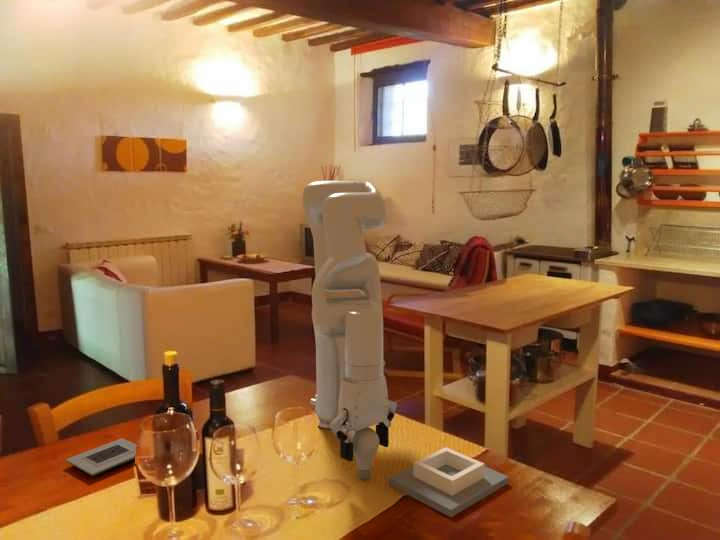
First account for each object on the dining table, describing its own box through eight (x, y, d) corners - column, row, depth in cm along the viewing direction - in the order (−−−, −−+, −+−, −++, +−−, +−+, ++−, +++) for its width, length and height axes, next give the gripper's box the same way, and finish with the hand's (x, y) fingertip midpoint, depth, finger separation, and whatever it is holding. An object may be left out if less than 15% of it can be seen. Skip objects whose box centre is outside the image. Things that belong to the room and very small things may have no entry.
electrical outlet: (92, 483, 123) (91, 472, 122) (66, 468, 129) (65, 458, 129) (149, 459, 133) (148, 449, 133) (122, 446, 139) (122, 436, 139)
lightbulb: (373, 469, 127) (373, 420, 125) (383, 483, 121) (383, 431, 120) (345, 474, 125) (345, 424, 124) (354, 488, 120) (354, 436, 118)
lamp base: (388, 484, 121) (388, 463, 120) (446, 456, 133) (446, 437, 132) (450, 517, 109) (451, 494, 109) (508, 483, 121) (508, 462, 121)
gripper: (382, 357, 128) (382, 434, 130) (318, 375, 117) (319, 459, 119) (408, 365, 123) (407, 445, 125) (343, 384, 111) (344, 472, 113)
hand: (364, 452), depth 122 cm, fingers open, 9 cm apart
